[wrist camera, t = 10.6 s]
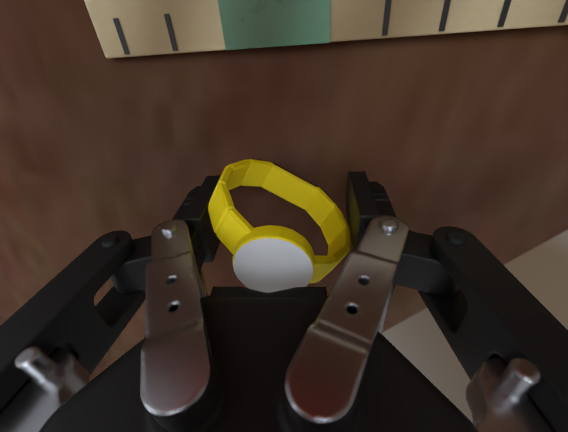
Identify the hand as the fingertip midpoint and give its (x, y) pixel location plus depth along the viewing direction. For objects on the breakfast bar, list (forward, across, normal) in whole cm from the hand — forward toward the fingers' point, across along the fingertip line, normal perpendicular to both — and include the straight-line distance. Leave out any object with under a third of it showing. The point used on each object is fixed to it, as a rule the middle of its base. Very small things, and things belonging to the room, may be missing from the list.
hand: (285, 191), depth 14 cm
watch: (+1, 0, 0) cm, 1 cm away
